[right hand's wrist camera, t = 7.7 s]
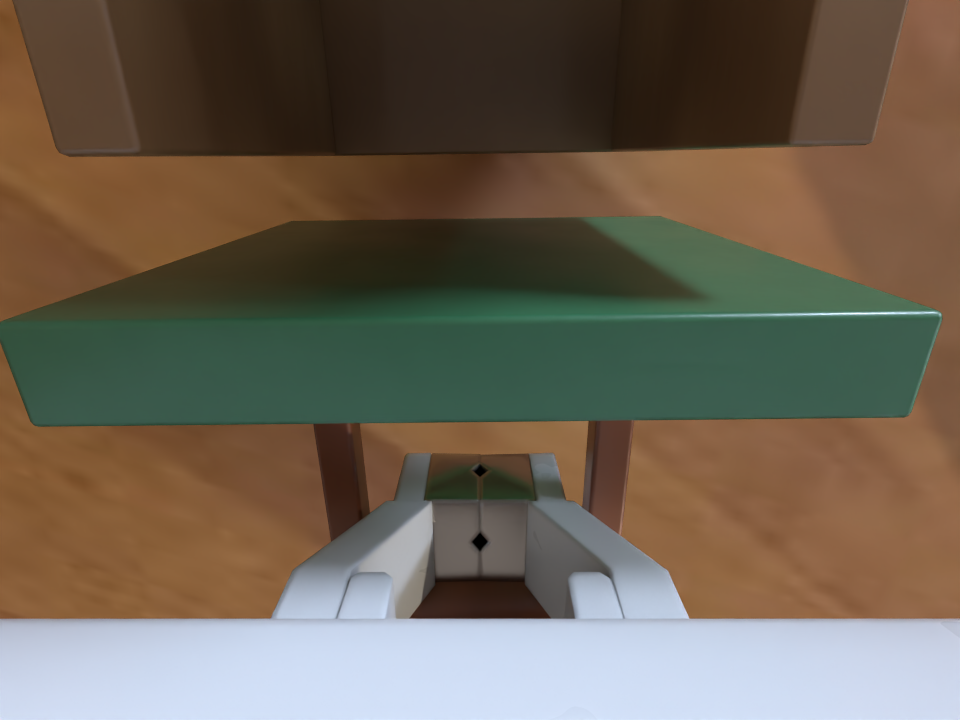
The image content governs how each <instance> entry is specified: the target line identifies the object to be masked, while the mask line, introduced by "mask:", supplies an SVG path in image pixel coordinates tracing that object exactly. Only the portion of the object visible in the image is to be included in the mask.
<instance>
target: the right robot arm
mask: <svg viewBox="0 0 960 720" xmlns="http://www.w3.org/2000/svg"><path fill="white" fill-rule="evenodd" d="M461 581H498V582H525V585H526V587H527V588H528V589H529V590H530V592H531V593H532V594H533V596H534V597H535V598H536V599H537V601H538V602H539V603H540V605H541V606H542V607H543V608H544V610H545V611H546V612H547V614H548V615H549V616H550V617H551V619H409V618H410V617H411V615H412V614H413V613H414V611H415V610H416V609H417V608H418V606H419V605H420V604H421V602H422V601H423V600H424V599H425V597H426V596H427V595H428V593H429V592H430V591H431V590H432V588H433V587H434V586H435V582H461ZM0 720H960V619H689V617H688V615H687V612H686V610H685V608H684V606H683V603H682V601H681V599H680V597H679V595H678V592H677V590H676V588H675V586H674V583H673V581H672V579H671V577H670V575H669V572H668V571H667V570H666V569H665V568H663V567H662V566H661V565H659V564H658V563H657V562H655V561H654V560H653V559H651V558H650V557H648V556H647V555H646V554H644V553H643V552H642V551H640V550H639V549H638V548H636V547H635V546H634V545H632V544H631V543H630V542H628V541H627V540H626V539H624V538H623V537H621V536H620V535H619V534H617V533H616V532H615V531H613V530H612V529H611V528H609V527H608V526H607V525H605V524H604V523H603V522H601V521H600V520H598V519H597V518H596V517H594V516H593V515H592V514H590V513H589V512H588V511H586V510H585V509H584V508H582V507H581V506H580V505H578V504H577V503H576V502H574V501H566V498H565V494H564V490H563V486H562V482H561V478H560V474H559V470H558V466H557V462H556V458H555V455H554V454H553V453H531V454H494V455H480V454H447V453H432V454H431V453H407V455H406V456H405V458H404V462H403V466H402V470H401V474H400V478H399V482H398V486H397V490H396V494H395V498H394V501H386V502H385V503H383V504H382V505H380V506H379V507H378V508H376V509H375V510H374V511H372V512H371V513H370V514H368V515H367V516H366V517H364V518H363V519H361V520H360V521H359V522H357V523H356V524H355V525H353V526H352V527H351V528H349V529H348V530H346V531H345V532H344V533H342V534H341V535H340V536H338V537H337V538H336V539H334V540H333V541H332V542H330V543H329V544H327V545H326V546H325V547H323V548H322V549H321V550H319V551H318V552H317V553H315V554H314V555H313V556H311V557H310V558H308V559H307V560H306V561H304V562H303V563H302V564H300V565H299V566H298V567H296V568H295V569H294V570H293V571H292V573H291V575H290V577H289V580H288V582H287V584H286V586H285V588H284V590H283V593H282V595H281V597H280V599H279V601H278V604H277V606H276V608H275V610H274V612H273V615H272V617H271V619H0Z"/></svg>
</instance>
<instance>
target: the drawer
mask: <svg viewBox="0 0 960 720" xmlns="http://www.w3.org/2000/svg"><path fill="white" fill-rule="evenodd" d="M908 1H909V0H13V4H14V7H15V11H16V14H17V17H18V21H19V24H20V27H21V31H22V34H23V38H24V41H25V44H26V48H27V51H28V55H29V58H30V61H31V65H32V68H33V71H34V75H35V78H36V82H37V85H38V88H39V92H40V95H41V98H42V102H43V105H44V109H45V112H46V115H47V119H48V122H49V125H50V129H51V132H52V136H53V139H54V142H55V146H56V148H57V150H58V151H59V153H61V154H64V155H66V156H69V157H120V156H353V155H422V154H491V153H560V152H629V151H668V150H704V149H740V148H776V147H812V146H848V145H866V144H869V143H871V142H872V141H873V140H874V138H875V134H876V129H877V125H878V121H879V117H880V113H881V109H882V105H883V101H884V97H885V93H886V89H887V85H888V81H889V77H890V73H891V69H892V65H893V61H894V57H895V53H896V49H897V45H898V41H899V37H900V33H901V29H902V25H903V21H904V17H905V13H906V9H907V5H908ZM941 322H942V313H940V312H939V311H937V310H935V309H932V308H930V307H927V306H924V305H921V304H918V303H915V302H912V301H909V300H906V299H903V298H900V297H897V296H894V295H891V294H888V293H885V292H882V291H879V290H876V289H873V288H870V287H868V286H865V285H862V284H859V283H856V282H853V281H850V280H847V279H844V278H841V277H838V276H835V275H832V274H829V273H826V272H823V271H820V270H817V269H814V268H811V267H809V266H806V265H803V264H800V263H797V262H794V261H791V260H788V259H785V258H782V257H779V256H776V255H773V254H770V253H767V252H764V251H761V250H758V249H755V248H752V247H750V246H747V245H744V244H741V243H738V242H735V241H732V240H729V239H726V238H723V237H720V236H717V235H714V234H711V233H708V232H705V231H702V230H699V229H696V228H693V227H690V226H688V225H685V224H682V223H679V222H676V221H673V220H670V219H667V218H664V217H661V216H640V217H566V218H492V219H418V220H344V221H291V222H288V223H285V224H282V225H279V226H276V227H273V228H270V229H267V230H264V231H261V232H259V233H256V234H253V235H250V236H247V237H244V238H241V239H238V240H235V241H232V242H230V243H227V244H224V245H221V246H218V247H215V248H212V249H209V250H206V251H203V252H201V253H198V254H195V255H192V256H189V257H186V258H183V259H180V260H177V261H174V262H172V263H169V264H166V265H163V266H160V267H157V268H154V269H151V270H148V271H145V272H143V273H140V274H137V275H134V276H131V277H128V278H125V279H122V280H119V281H116V282H114V283H111V284H108V285H105V286H102V287H99V288H96V289H93V290H90V291H87V292H85V293H82V294H79V295H76V296H73V297H70V298H67V299H64V300H61V301H58V302H55V303H53V304H50V305H47V306H44V307H41V308H38V309H35V310H32V311H29V312H26V313H24V314H21V315H18V316H15V317H12V318H9V319H6V320H3V321H1V322H0V343H1V345H2V348H3V351H4V353H5V356H6V358H7V361H8V364H9V366H10V369H11V372H12V374H13V377H14V379H15V382H16V385H17V387H18V390H19V392H20V395H21V398H22V400H23V403H24V405H25V408H26V411H27V413H28V416H29V419H30V421H31V422H32V424H33V425H35V426H38V427H45V426H140V425H235V424H313V425H314V432H315V438H316V445H317V451H318V458H319V464H320V471H321V478H322V484H323V491H324V497H325V504H326V510H327V517H328V524H329V530H330V537H331V542H332V541H333V540H334V539H336V538H337V537H338V536H340V535H341V534H342V533H344V532H345V531H346V530H348V529H349V528H351V527H352V526H353V525H355V524H356V523H357V522H359V521H360V520H361V519H363V518H364V517H366V516H367V515H368V514H370V510H369V501H368V492H367V484H366V475H365V466H364V457H363V449H362V440H361V431H360V423H424V422H518V421H589V425H588V438H587V452H586V465H585V479H584V493H583V506H582V508H584V509H585V510H586V511H588V512H589V513H590V514H592V515H593V516H594V517H596V518H597V519H598V520H600V521H601V522H603V523H604V524H605V525H607V526H608V527H609V528H611V529H612V530H613V531H615V532H616V533H617V534H619V535H620V536H621V534H622V525H623V516H624V507H625V498H626V489H627V480H628V471H629V462H630V453H631V444H632V435H633V426H634V420H708V419H802V418H897V417H906V416H908V415H909V414H910V413H911V411H912V408H913V405H914V402H915V399H916V396H917V393H918V390H919V387H920V384H921V381H922V378H923V375H924V372H925V369H926V366H927V363H928V360H929V357H930V354H931V351H932V349H933V346H934V343H935V340H936V337H937V334H938V331H939V328H940V325H941ZM409 619H551V617H550V616H549V615H548V614H547V612H546V611H545V610H544V608H543V607H542V606H541V605H540V603H539V602H538V601H537V599H536V598H535V597H534V596H533V594H532V593H531V592H530V590H529V589H528V588H527V587H526V585H525V582H498V581H461V582H435V586H434V587H433V588H432V590H431V591H430V592H429V593H428V595H427V596H426V597H425V599H424V600H423V601H422V602H421V604H420V605H419V606H418V608H417V609H416V610H415V611H414V613H413V614H412V615H411V617H410V618H409Z"/></svg>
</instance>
